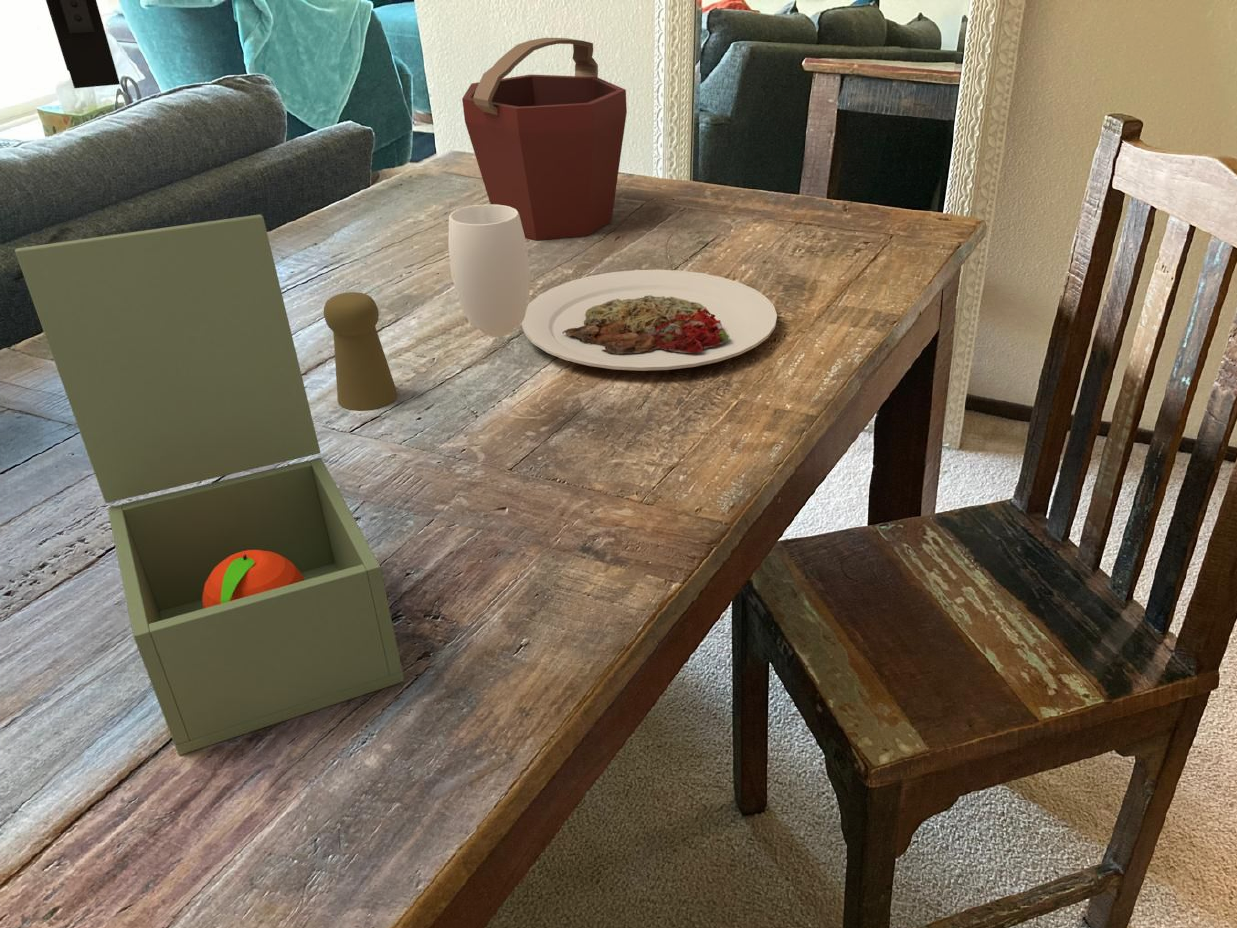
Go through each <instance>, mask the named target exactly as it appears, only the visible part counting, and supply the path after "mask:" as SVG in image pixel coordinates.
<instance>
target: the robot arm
mask: <svg viewBox="0 0 1237 928" xmlns="http://www.w3.org/2000/svg"><path fill="white" fill-rule="evenodd" d="M45 2H46V5H47V9H48V12H49V15H50V19H51V22H52V25H53V28H54V31H55V35H56V38H57V41H58V45H59V48H60V51H61V54H62V57H63V60H64V64H65V67H66V70H67V71H68V72H69V73H68V74H69V75H70V79H71V82H72V85H73V88H74V89H83V88H96V87H108V86H118V85H119V86H120V85H121V82H120V78H119V76H118V71H117V69H116V65H115V62H114V57H113V53H112V51H111V48H110V44H109V41H108V37H107V33H106V30H105V26H104V22H103V18H102V15H101V12H100V9H99V6H98V1H97V0H45Z"/></svg>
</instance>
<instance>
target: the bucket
mask: <svg viewBox="0 0 1237 928" xmlns="http://www.w3.org/2000/svg"><path fill="white" fill-rule="evenodd" d="M554 45H572V50H573V53H572V61H574V63H575V64H574V75H557V74H556V75H552V74H525V75H519V76H511V77H506V76H508V75H509V74H510V73H511V72H512V71H513V70H514V69H515V68H516V66H518V65H519V64H521V62H522V61H524V59H526V58H527V57H528V56H529V55H531V54H532V53H533V52H535V51H537V50H539V49H543V48H545V47H549V46H554ZM593 54H594V43H593V42H590V41H585V40H581V39H573V38H567V37H541V38H536V39H529V40H527V41H524V42H521V43H518V44H516V45H514V46H513V47H512V48H511V49H509V50H508V51H507V52H506V53H504V54H503V56H501V57H500V58H499V59H498V60H497V61H496V62H495V63H494V64H493V66H491V67H490V68H489V69H488V70H486V71H485V72H484V73H483V74H482V76H481V78H480V80H479V82H473V83H472V82H471V84H470V85H469V87H468V88H467V90H466V92H465V94H463V97H462V98H461V100H462V109H463V117H464V123H465V126H466V130H467V133H468V136H469V140H470V143H471V146H472V149H473V153H474V155H475V159H476V163H477V165H478V169H479V172H480V175H481V178H482V181H483V185H484V188H485V191H486V194H487V198H488V201H489V204H492V205H503V206H509V207H512V208H514V209H516V210H517V212H518V213H519V216H520V220H521V224H522V228H523V231H524V235H525V239H529V240H533V241H545V240H547V241H548V240H557V239H568V238H569V239H570V238H580V237H581V238H582V237H589V236H591V235H592V234H593V233H595V232H597V231H599V230H600V229H601V228H604V227H605V226H607V225H608V224H610V223H611V222H612V221H613V213H614V206H615V198H616V191H617V185H618V178H619V172H620V171H619V170H620V162H621V157H622V156H621V155H622V150H623V142H624V136H625V135H624V134H625V128H626V121H627V113H628V108H627V106H628V105H627V90H626V89H625V88H623V87H621V86H618V85H616V84H614V83H611V82H609V81H607V80H605V79H602V78H600V77H599V64H598V63H597V62H596V59H594V57H593Z"/></svg>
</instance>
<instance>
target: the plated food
mask: <svg viewBox="0 0 1237 928" xmlns="http://www.w3.org/2000/svg"><path fill="white" fill-rule="evenodd" d="M777 320H778V313H777V311H776V308H775V305H774V304H773V303H772V302H771V301H770V300H769V298H768V297H767V296H765V295H764V294H763V293H761V292H760V291H758V290H757V289H755V288H753V287H750V286H748V285H746V284H744V283H741V282H739V281H736V280H733V279H729V278H726V277H723V276H718V275H713V274H708V273H703V272H696V271H687V270H673V269H633V270H623V271H621V270H620V271H612V272H606V273H600V274H595V275H589V276H585V277H581V278H578V279H577V278H576V279H573V280H571V281H567V282H565V283H562V284H559V285H557V286H554V287H552V288H549V289H547V290H546V291H543V292H542V293H541V294H539V295H538V296H536V297H535V298H534V299H533V300H531V301H530V302H528V305H527V309H526V314H525V318H524V320H523V322H522V323H520V325H521V328H522V330H523V334H524V336H525V337H526V338H527V339H528V340H529V341H530V342H531V343H532V344H533V345H534V346H536V347H537V348H538V349H541V350H542V351H543V352H544V353H547V354H549V355H552V356H554V357H557V358H559V359H562V360H563V361H564V360H565V361H568V362H572V363H576V364H579V365H584V366H589V367H595V368H601V369H607V370H609V369H610V370H619V371H621V370H623V371H639V372H640V371H644V372H645V371H646V372H647V371H669V370H670V371H671V370H678V369H686V368H695V367H701V366H705V365H710V364H715V363H719V362H722V361H725V360H729V359H731V358H734V357H738V356H740V355H742V354H744V353H746V352H749V351H751V350H752V349H754V348H757V347H758V346H759V345H760V344H762V343H763V342H765V341H766V340H767V339H769V337H770V336H771V334H772V333H773V331H774V330H775V329H776V326H777Z"/></svg>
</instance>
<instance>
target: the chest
mask: <svg viewBox="0 0 1237 928" xmlns="http://www.w3.org/2000/svg"><path fill="white" fill-rule="evenodd" d="M107 512H108V518H109V522H110V527H111V533H112V536H113V542H114V548H115V552H116V556H117V561H118V566H119V572H120V577H121V581H122V586H123V591H124V596H125V601H126V602H125V603H126V606H127V611H128V616H129V621H130V626H131V631H132V636H133V639H134V641H135V644H136V647H137V650H138V652H139V654H140V657H141V660H142V662H143V663H142V664H143V665H144V667H145V670H146V673H147V676H148V678H149V681H150V683H151V686H152V689H153V692H154V694H155V697H156V700H157V702H158V705H159V707H160V710H161V712H162V715H163V718H164V720H165V723H166V725H167V728H168V731H169V734H170V737H171V739H172V742H173V744H174V748H175V749H176V753H177V755H178V756H183V755H185V754H188V753H191V752H194V751H198V750H201V749H203V748H206V747H209V746H213V745H215V744H218V743H222V742H224V741H227V740H230V739H231V740H232V739H233V738H236V737H239V736H242V735H246V734H248V733H252V732H254V731H258V730H261V729H265V728H266V727H270V726H273V725H276V724H279V723H282V722H286V721H288V720H291V719H294V718H297V717H300V716H303V715H307V714H311V713H312V712H315V711H318V710H322V709H324V708H327V707H332V706H334V705H337V704H340V703H343V702H346V701H348V700H352V699H355V698H358V697H361V696H364V695H367V694H371V693H374V692H376V691H381V690H382V689H385V688H388V687H392V686H395V685H397V684H401V683H404V682H405V677H404V672H403V667H402V662H401V658H400V657H401V656H400V653H399V648H398V643H397V638H396V634H395V629H394V625H393V620H392V615H391V611H390V610H391V609H390V606H389V601H388V596H387V591H386V587H385V586H386V585H385V581H384V576H383V572H382V567H381V565H380V563H379V561H378V559H377V557H376V556H375V553H374V552H373V550H372V548H371V547H370V544H369V543H368V541H367V539H366V537H365V535H364V534H363V531H362V530H361V528H360V526H359V524H358V523H357V521H356V518H355V517H354V515H353V514H352V511H351V510H350V507H349V506H348V504H347V502H346V501H345V499H344V497H343V496H342V493H341V491H340V490H339V487H338V486H337V485H336V482H335V480H334V479H333V477H332V475H331V473H330V472H329V470H328V467H327V466H326V464H325V461H323V458H322V457H317V458H312V459H308V460H304V461H300V462H299V461H298V462H296V463H292V464H286V465H283V466H279V467H275V468H269V469H266V470H261V471H258V472H253V473H248V474H244V475H240V476H236V477H232V478H227V479H223V480H219V481H214V482H210V483H205V484H202V485H197V486H193V487H189V488H184V489H181V490H177V491H172V492H171V491H170V492H167V493H163V494H160V495H159V494H158V495H154V496H151V497H146V498H142V499H138V500H134V501H129V502H125V503H121V504H117V505H113V506H109V507H107ZM247 550H263V551H271V552H274V553H277V554H279V555H281V556H282V557H284V558H286V559H288V560H289V561H290V562H292V563H293V564H294V565H295V566H296V567H297V569H298V570H299V571H300V573H301V574H302V576H303V578H304V580H305V581H301V582H297V583H294V584H290V585H287V586H283V587H279V588H276V589H272V590H269V591H265V592H262V593H258V594H254V595H251V596H247V597H244V598H240V599H236V600H233V601H229V602H226V603H222V604H219V605H215V606H211V607H208V608H203V601H202V599H203V591H204V586H205V583H206V581H207V579H208V577H209V576H210V574H211V572H212V571H213V569H214V568H215V567H216V566H217V565H218V564H219V563H221V562H222V561H223V560H225V559H226V558H228V557H229V556H231V555H233V554H236V553H238V552H242V551H247Z"/></svg>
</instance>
